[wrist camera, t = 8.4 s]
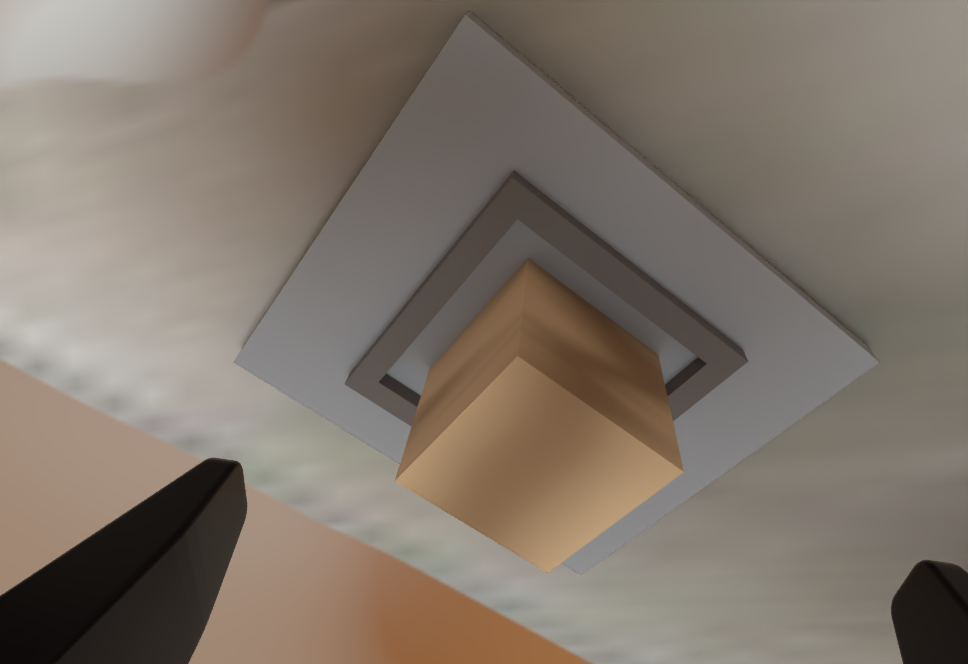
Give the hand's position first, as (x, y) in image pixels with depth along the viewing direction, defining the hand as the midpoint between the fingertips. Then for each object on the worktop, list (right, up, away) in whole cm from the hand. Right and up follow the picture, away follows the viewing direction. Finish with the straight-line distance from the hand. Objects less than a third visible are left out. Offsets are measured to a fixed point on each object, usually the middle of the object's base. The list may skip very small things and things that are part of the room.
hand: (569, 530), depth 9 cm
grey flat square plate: (+1, +2, +12) cm, 12 cm away
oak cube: (+1, +2, +12) cm, 12 cm away
